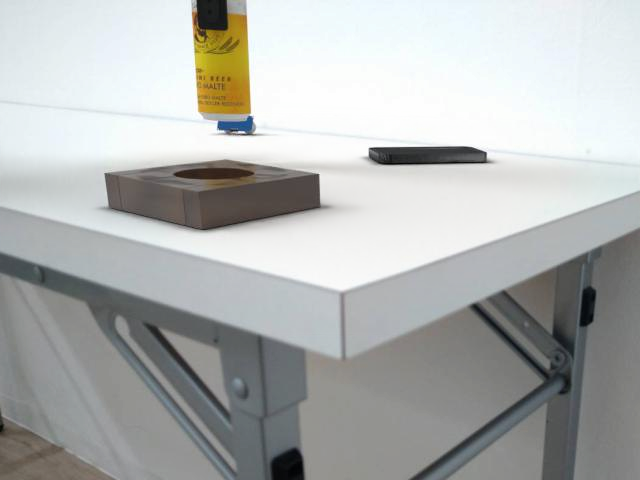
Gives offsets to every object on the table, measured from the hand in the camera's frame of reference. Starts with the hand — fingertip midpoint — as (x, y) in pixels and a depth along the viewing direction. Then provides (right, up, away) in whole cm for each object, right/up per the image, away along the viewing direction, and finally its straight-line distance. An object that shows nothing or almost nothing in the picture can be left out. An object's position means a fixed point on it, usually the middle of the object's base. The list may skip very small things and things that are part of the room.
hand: (220, 29), depth 85 cm
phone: (+24, -12, +15) cm, 30 cm away
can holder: (+6, -24, -19) cm, 31 cm away
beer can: (0, -10, +4) cm, 10 cm away
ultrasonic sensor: (-9, -2, +38) cm, 39 cm away
